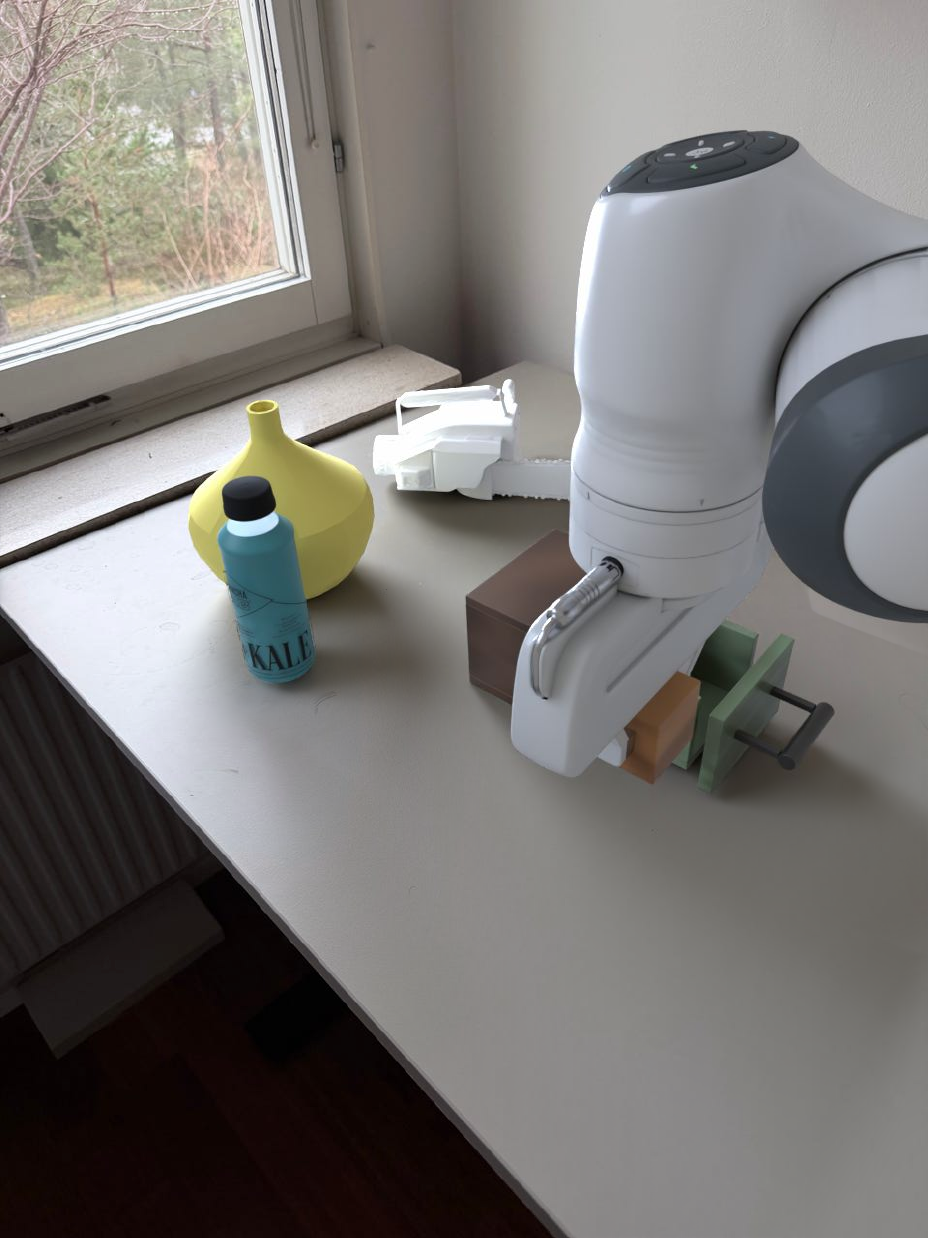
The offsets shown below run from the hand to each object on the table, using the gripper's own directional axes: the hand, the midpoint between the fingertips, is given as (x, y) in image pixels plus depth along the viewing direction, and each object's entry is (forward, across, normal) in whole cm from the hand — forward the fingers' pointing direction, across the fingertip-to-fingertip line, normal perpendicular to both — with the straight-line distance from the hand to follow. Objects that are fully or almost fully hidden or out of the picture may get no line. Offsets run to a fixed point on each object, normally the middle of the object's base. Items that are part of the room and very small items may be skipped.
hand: (641, 723), depth 53 cm
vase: (+19, +14, +49) cm, 54 cm away
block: (+2, 0, 0) cm, 2 cm away
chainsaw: (+19, +44, +41) cm, 63 cm away
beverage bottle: (+19, +3, +38) cm, 43 cm away
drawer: (+18, +19, +5) cm, 26 cm away
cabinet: (+19, +19, +16) cm, 31 cm away
